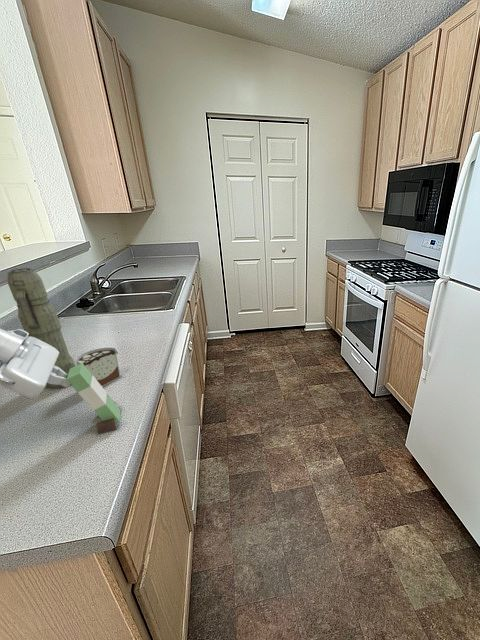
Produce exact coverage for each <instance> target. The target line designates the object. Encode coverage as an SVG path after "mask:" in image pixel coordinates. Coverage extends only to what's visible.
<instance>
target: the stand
mask: <svg viewBox="0 0 480 640" xmlns="http://www.w3.org/2000/svg"><path fill="white" fill-rule="evenodd" d="M115 404H116V405H117V402H115ZM95 427H96V430H97V433H98V435H100V434H104V433H108V432H111V431H116V430H117V429H118V424H117V423H116V421H115V418H112V419H108V420H104V421H102V420H100V421H96V423H95Z"/></svg>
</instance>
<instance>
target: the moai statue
mask: <svg viewBox="0 0 480 640" xmlns="http://www.w3.org/2000/svg"><path fill="white" fill-rule="evenodd" d="M7 285H8V287H9V290H10V292H11V295H12V297H13V300H14V301H15V302H16V307H17V316H18V319H19V321H20V324H21V327H22V330H24V331H26V332H28V333H29V335H28V337H29V336H31V337H35V338H37V339H39V340H41V341H43V342H45V343H47V344H49V345H51V346H52V347H54V348H56V349H57V350H58V351H59V355H58V357H57V360H56V362H55V366H57V367H59V368H60V369H62V370H63V371H64V372H65V373H66V374H68V373H69V370H70V368H72V367H75V366H76V363H75V361H74V357H72V356H71V355H70V353H69V349H68V346H67V344H66V341H65V339H64V336H63V333H62V330H61V328H62V325H61V321H60V320H59V316H58V314H57V310H56V308H54V306H53V304H51V301H50V299H49V298H48V292H47V289H46V287H45V284H44V281H43V279H42V277H41V276H40V275H39V274H38V272H37V271H36V270H35V269H32V268H30V267H29V268H27V267H25V268H24V267H23V268H16V269H11V270H9V272H7ZM46 386H47V388H49V389H60V388H61V389H62V388H65V387H64V386H62V385H56V384H49V383H47V384H46ZM69 386H72V385H71V384H70V385H69Z"/></svg>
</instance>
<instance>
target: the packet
mask: <svg viewBox="0 0 480 640" xmlns="http://www.w3.org/2000/svg"><path fill="white" fill-rule="evenodd" d="M67 381H68V382H69V383H70V384H71V385H70V386H71V387H72V388H73V389H74V390H75V391H76V393H77V394H78V395H79V396H80V397H81V398H82V399H83V401H84V402H85V403H86V404H87V405H88V406H89V407H90V408H91V410H92V411H93V412H94V413H95V414H96V415H97V416H98V417H99V419H100V420H101V421H104V420H108V419H112V418H115V421H116V424H118V423H119V422H120V421H121V409H120V407H119V406H118V405H117V403H116V401H114V399H112V398H111V396H110V395H109V393H108V392H107V391H106V389H105V388H104V386H103V387H102V386H101V385H100V384H99V382H98V381H97V380H96V379H95V377H94V376H93V375H92V374H91V373H90V372H89V371H88V369H87V368H86V367H85V366H84V364H83V363H81V364H79V365H77V364H76V365H75V367H72V368H70V370H69V373H68V376H67ZM115 403H116V404H115Z"/></svg>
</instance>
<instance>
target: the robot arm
mask: <svg viewBox="0 0 480 640" xmlns="http://www.w3.org/2000/svg"><path fill="white" fill-rule="evenodd" d="M28 335H29V333H28V332H26V331H24V329H21V328H18V329H13V330H5V329H2V328H0V385H1V386H2V387H4V388H6V389H8V390H10V391H13V392H15V393H17V394H19V395H22V396H24V397H26V398H29V399H36V398H38V397H39V396H40V394H42V392H43V390H44V389H45V388H46V386H47V383H49V384H56V385H62V386H64V387H63V388H69V387H70V386H71V385H70V383H69V382H68V381H67V376H68V374H66V373H65V372H64V371H63V370H62V369H60V368H59V367H57V366H55V362H56V360H57V357H58V355H59V351H58V350H57V349H56V348H54V347H52V346H51V345H49V344H47V343H45V342H43V341H41V340H39V339H37V338H35V337H31V336H28Z"/></svg>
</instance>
